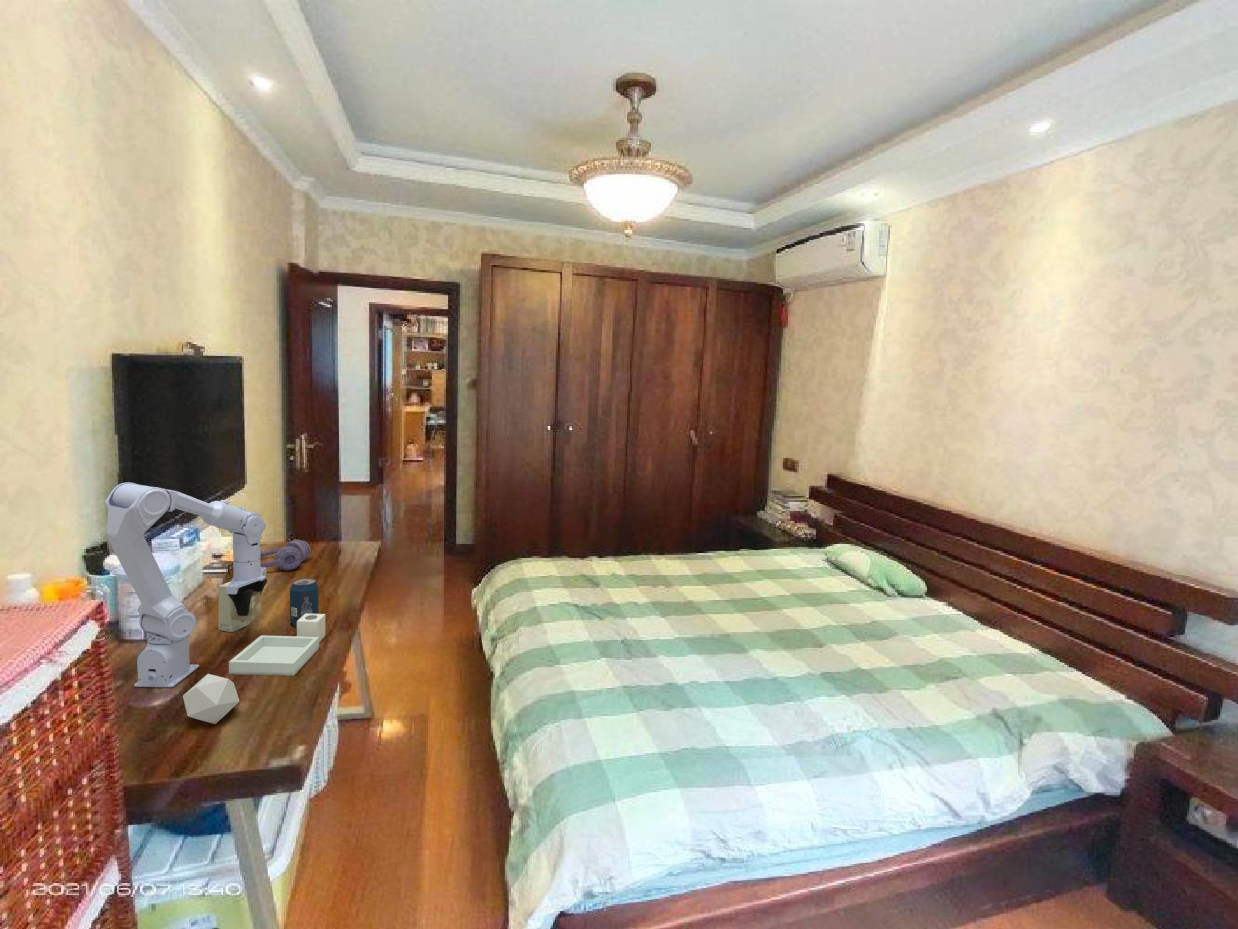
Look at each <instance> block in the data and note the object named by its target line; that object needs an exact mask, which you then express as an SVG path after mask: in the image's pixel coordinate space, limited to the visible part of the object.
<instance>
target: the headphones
mask: <svg viewBox="0 0 1238 929" xmlns="http://www.w3.org/2000/svg"><path fill="white" fill-rule="evenodd" d="M311 551H312V550H311V546H310V544H309V543H308V542H307V541H305V540H300V539H295V540H290V541H289V542H288V543H287V544H286V545H285V546H284V547H279V548H273V549H266V550H265V549H264V550H260V559H262V558H264V557H267V556H270V555H274V560H271V561H266V562H261V567H265V568H266V569H268V568H271V567H277V568H278V569H280V570H282V571H287V572H288V571H293V570H295V569H297V568H298V567H299V566H300V564H301V563H303V561H306V560H307V559H308V557H309V556H310V555H311Z"/></svg>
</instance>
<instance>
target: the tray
mask: <svg viewBox="0 0 1238 929" xmlns="http://www.w3.org/2000/svg"><path fill="white" fill-rule="evenodd" d="M319 649H320V642H319V637H299V636H297V635H296V636H295V635H294V636H292V635H263V634H262V635H260V636H258V637H257V638H256V639H255V640H253V641H252V642H251V643H250V644H248V645H247V646H246V647H245V648H244V649H243V650H241V651H240V652H239V653H237V655H235V656H234V657H233V658H231V659H230V660H229V661H228V675H235V676H236V675H237V676H238V675H242V676H243V675H246V676H277V677H278V676H284V677H286V676H288V677H294V676H295V675H296V674H297V673H298V672H299V670H301V668H302V667H303V666H305V664H306V663H307V662H309V660H310V659H311V658H312V657H313V656H314V654H315V653H317V651H319Z"/></svg>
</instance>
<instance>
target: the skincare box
mask: <svg viewBox="0 0 1238 929" xmlns="http://www.w3.org/2000/svg"><path fill="white" fill-rule="evenodd" d="M230 582H231V581H228V582H226V583H222V584H219V585H218V630H219V631H223V632H229V633H233V632H235V631H238V630H240V629H243V628H245V627H247V626H249V625H251V621H245V620H235V605H234V603H233V601H232V599H231V598H230V597H229V595H228V594H227V588H226V586H228V585H229V584H230Z"/></svg>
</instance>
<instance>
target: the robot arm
mask: <svg viewBox="0 0 1238 929" xmlns="http://www.w3.org/2000/svg"><path fill="white" fill-rule="evenodd" d="M104 504H105V507H106V508H107V519H106V520H107V521H106V530H105V534H106V539H107V541H108V542H109V544H110V546H111V548H112V550H113V551H114V553H115V555H116V557H117V560H118V561H119V564H120V566H121V568H122V569H123V570H124V573H125V575H126V577H127V579H128V581H129V582H130V584H131V586H132V588H133V590H134V593H135V594H136V595H137V598H138V600H139V601H140V604H141V605H139V606H138V607H137V612H138V614H139V615H138V616H139V621H138V622H139V627H140V629H141V630H142V631H143V632H145V633H146V638H147V644H146V646H145V648H144V649H143V650H142V651H141V652H140V653H139V654H138V656H137V661H136V664H137V682H135V683H134V684H133V686H134V688H135V687H137V688H139V687H140V688H143V687H144V688H174V687H175V686H177V685H178V684H179V683H180V682H182V681H183V680H184V679H185V678H187V676H190V675H191V673H193V672H194V671H196V670H197V669H199V667H200V665H199V664H191V663H190V637H191V634H192V632H193V631H194V630H195V627H196V624H197V619H196V616H195V614H194V613H192V612H191V611H189V610H187V609H186V607H185V605H184V604H183V603H182V602H181V601H180V600H179V599H177V598H176V597H175V596H174V595H173V592H172V590H171V589H170V587H169V585H168V583H167V581H166V578H165V577H164V575H163V572H162V571H161V568H160V567H159V564H158V562H157V561H156V559H155V556H154V554H153V553H152V550H151V548H150V546H149V544H148V542H147V540H146V538H145V536H144V535H145V533H146V532H147V531H148V530H149V529H150V528H151V527H152V526H153V525H154V524H155V523H156V522H157V521H158V520H159V519H160V518H162V517H163V515H164V514H165V513H166V512H173V511H174V510H179V511H182V512H185V513H189V514H192V515H197V516H200V517H202V518H201V519H202V521H203V522H204V523H205V524H206V525H208V526H212V527H215V528H218V529H222V530H224V531H228V532H229V533H231V534H232V556H233V557H232V560H233V562H232V563H233V577H232V578H231V580H230V581H229V582H230V584H229V585H228V586H226V588H227V594H228V595H229V597H230V598H231V599H232V601H233V603H234V605H235V608H236V611H237V614H238V616H247V615H248V613H249V607H250V600H251V596H252V594H253V592H260V598H261V596H262V594H263V591H264V589H265V587H266V584H267V583H268V579H267V578H266V575H267V568H265V567H261V563H262V562H261V558H260V551H261V540H262V539H263V538H262V537H263V536H262V535H263V533H264V532H265V529H266V526H267V522H266V521H265V520H264V518H263V517H262V515H261V514H259V513H256V512H251V511H247V508H245V507H243V506H239V507H237V506H234V505H232V504H230V501H228V500H224V499H221V500H214V501H211V502H206V501H204V500H201V499H197V498H196V497H193V496H191V495H187V494H185V493H182V492H180V491H177V490H174V489H173V490H172V489H166V488H162V487H157V486H155V487H154V486H149V485H142V484H137V483H135V482H129V481H128V482H123V483H120V484H118V485H116V486H115V487H114V488H113V489H111V492H110V493H109V495H108V496H107V498H106V499H105V500H104Z"/></svg>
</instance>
